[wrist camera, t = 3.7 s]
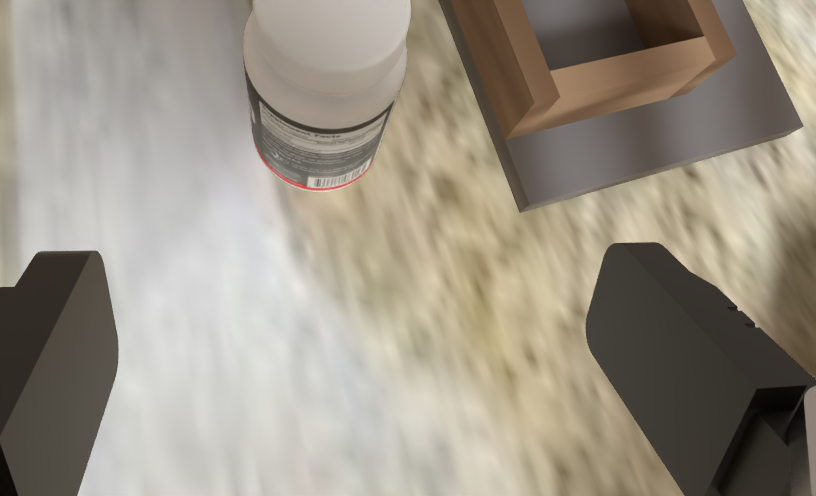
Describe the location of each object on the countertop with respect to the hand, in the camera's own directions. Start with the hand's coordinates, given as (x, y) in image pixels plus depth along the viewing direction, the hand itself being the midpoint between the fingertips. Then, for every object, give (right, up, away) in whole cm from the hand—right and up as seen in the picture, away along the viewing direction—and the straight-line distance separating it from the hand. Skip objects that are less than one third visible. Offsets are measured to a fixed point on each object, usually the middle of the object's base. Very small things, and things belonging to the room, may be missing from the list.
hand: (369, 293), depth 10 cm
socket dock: (+9, +10, +17) cm, 22 cm away
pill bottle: (-3, +5, +14) cm, 15 cm away
